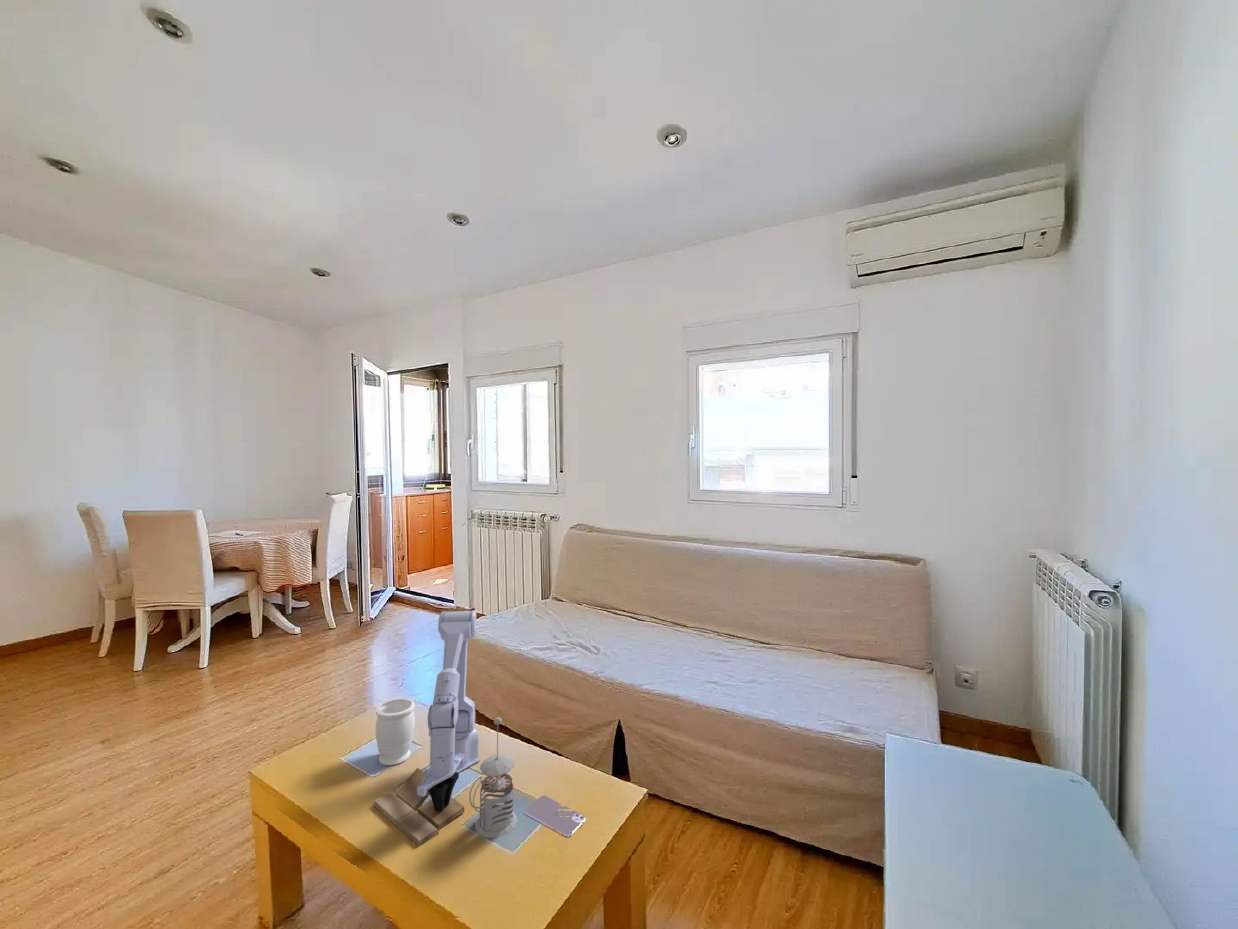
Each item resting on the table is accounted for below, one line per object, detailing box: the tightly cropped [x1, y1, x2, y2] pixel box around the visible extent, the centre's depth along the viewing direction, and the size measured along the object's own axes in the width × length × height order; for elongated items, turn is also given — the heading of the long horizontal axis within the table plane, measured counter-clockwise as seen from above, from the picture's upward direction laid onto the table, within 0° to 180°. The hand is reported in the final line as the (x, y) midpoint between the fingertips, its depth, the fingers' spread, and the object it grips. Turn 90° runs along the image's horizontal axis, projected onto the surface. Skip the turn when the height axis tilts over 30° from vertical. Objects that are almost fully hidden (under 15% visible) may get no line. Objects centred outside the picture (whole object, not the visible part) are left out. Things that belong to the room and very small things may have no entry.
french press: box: [468, 716, 518, 839], centre depth 115 cm, size 10×12×25 cm
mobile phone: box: [523, 795, 587, 836], centre depth 117 cm, size 8×1×15 cm
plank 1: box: [394, 767, 430, 812], centre depth 123 cm, size 7×9×1 cm
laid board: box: [373, 791, 440, 847], centre depth 116 cm, size 5×21×1 cm, turn 53°
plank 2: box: [417, 796, 465, 831], centre depth 118 cm, size 7×9×1 cm
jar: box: [375, 697, 416, 766], centre depth 140 cm, size 11×10×15 cm
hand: (441, 807), depth 118 cm, fingers closed
